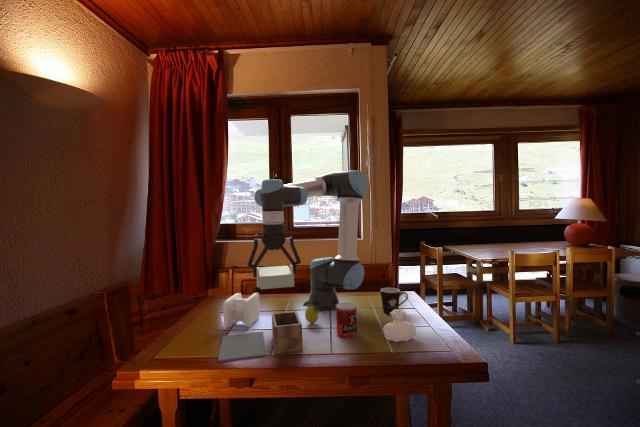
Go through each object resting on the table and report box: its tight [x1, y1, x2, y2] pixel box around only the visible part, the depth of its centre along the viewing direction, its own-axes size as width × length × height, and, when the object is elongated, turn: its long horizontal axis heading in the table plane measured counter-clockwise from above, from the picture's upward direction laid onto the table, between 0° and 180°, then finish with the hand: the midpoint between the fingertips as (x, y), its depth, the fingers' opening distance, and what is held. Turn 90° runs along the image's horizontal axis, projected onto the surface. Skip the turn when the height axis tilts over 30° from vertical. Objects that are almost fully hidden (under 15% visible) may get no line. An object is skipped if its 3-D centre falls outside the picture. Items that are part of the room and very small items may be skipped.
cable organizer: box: [222, 292, 261, 328], centre depth 140 cm, size 15×11×12 cm
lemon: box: [302, 300, 319, 325], centre depth 137 cm, size 7×6×10 cm
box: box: [271, 310, 304, 354], centre depth 119 cm, size 9×14×9 cm, turn 12°
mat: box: [217, 331, 266, 363], centre depth 118 cm, size 15×20×1 cm
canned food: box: [335, 302, 358, 339], centre depth 125 cm, size 8×8×11 cm
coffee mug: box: [380, 287, 409, 316], centre depth 148 cm, size 12×9×10 cm
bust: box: [382, 308, 417, 343], centre depth 121 cm, size 12×8×11 cm
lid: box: [258, 265, 295, 290], centre depth 118 cm, size 11×16×4 cm
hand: (275, 284), depth 118 cm, fingers closed on lid, 11 cm apart
